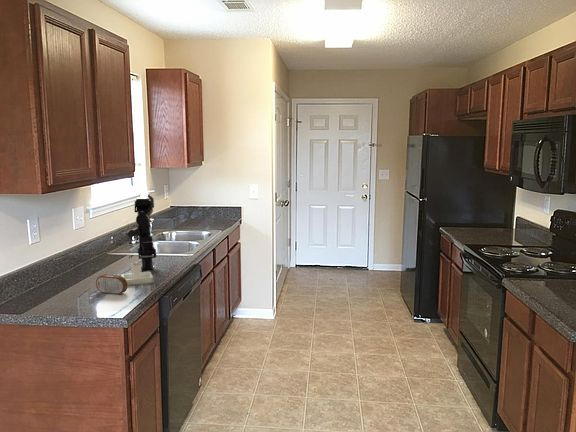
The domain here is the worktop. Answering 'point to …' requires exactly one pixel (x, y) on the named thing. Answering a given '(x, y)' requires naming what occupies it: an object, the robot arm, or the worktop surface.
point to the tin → (111, 284)
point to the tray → (138, 279)
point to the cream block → (136, 270)
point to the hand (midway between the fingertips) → (144, 252)
